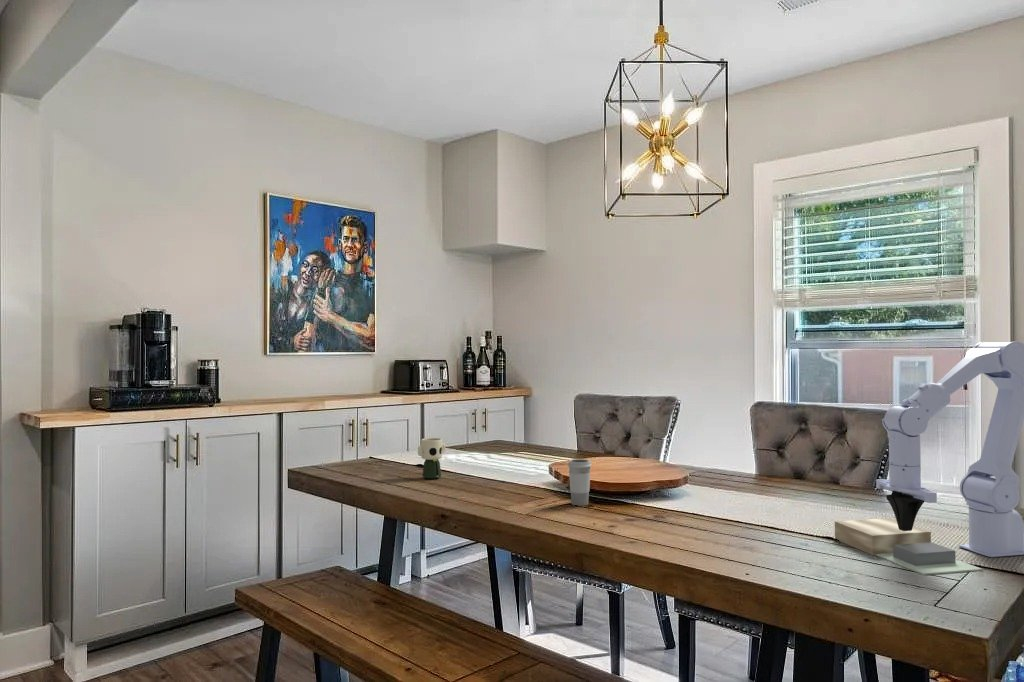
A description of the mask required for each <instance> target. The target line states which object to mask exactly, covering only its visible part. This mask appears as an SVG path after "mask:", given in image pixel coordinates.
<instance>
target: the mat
mask: <svg viewBox="0 0 1024 682" xmlns="http://www.w3.org/2000/svg"><path fill="white" fill-rule="evenodd" d="M875 556H877V557H879V558H881V559H884V560H887V561H889V562H891V563H893V562H894V564H896V563H897V564H896V565H898V564H899V566H901V567H903V568H905V567H906V569H908V570H910V569H911V571H913V572H915V573H917V574H920V575H923V576H927V575H940V574H951V573H952V574H953V573H954V574H955V573H968V572H976V571H983V568H981V567H978V566H975V565H973V564H970V563H967V562H964V561H962V560H959V559H956V563H948V564H935V565H922V566H915V565H912V564H910V563H907V562H905V561H903V560H900V559H898V558H895V557H893V553H885V554H876V555H875Z"/></svg>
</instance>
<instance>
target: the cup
mask: <svg viewBox="0 0 1024 682" xmlns="http://www.w3.org/2000/svg"><path fill="white" fill-rule="evenodd" d="M592 465H593V464H592V463H591V460H590V459H588V458H586V459H585V458H572V459H569V460H568V463H567V466H566V467H568V468H569V471H568V473H569V474H568V477H569V479H568V480H569V491H570V501H571V505H573V506H575V505H578V506H577V507H584V506H585V505H586V506H588V505H589V498H590V496H589V495H590V493H589V492H590V486H591V485H590V483H591V467H592Z"/></svg>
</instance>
